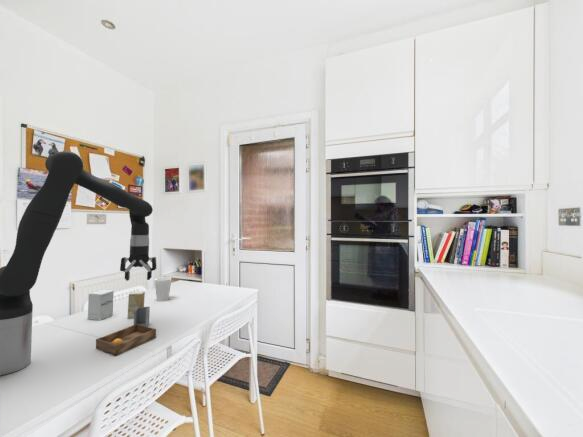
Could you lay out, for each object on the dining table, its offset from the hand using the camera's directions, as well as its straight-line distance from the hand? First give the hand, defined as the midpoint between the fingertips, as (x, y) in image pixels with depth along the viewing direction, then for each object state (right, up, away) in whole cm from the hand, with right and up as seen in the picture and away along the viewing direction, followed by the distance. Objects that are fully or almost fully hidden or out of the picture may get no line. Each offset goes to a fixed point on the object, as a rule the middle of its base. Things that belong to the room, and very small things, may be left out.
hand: (138, 279), depth 115 cm
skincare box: (-8, -22, +11) cm, 25 cm away
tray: (+5, -21, -16) cm, 27 cm away
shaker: (+2, -21, 0) cm, 21 cm away
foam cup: (-9, -22, +39) cm, 45 cm away
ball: (+5, -19, -21) cm, 28 cm away
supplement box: (-25, -21, +10) cm, 34 cm away
